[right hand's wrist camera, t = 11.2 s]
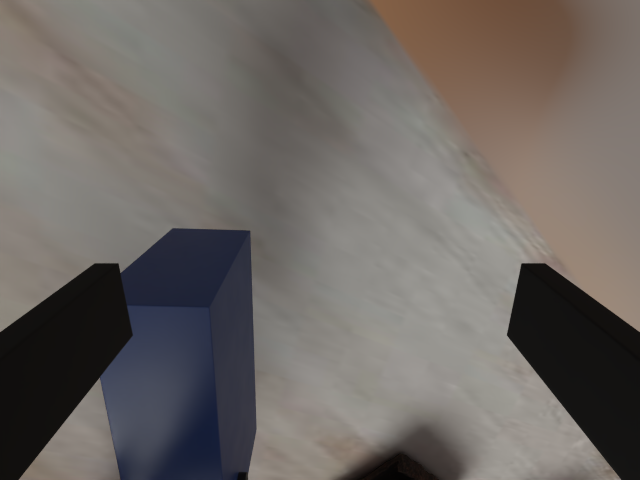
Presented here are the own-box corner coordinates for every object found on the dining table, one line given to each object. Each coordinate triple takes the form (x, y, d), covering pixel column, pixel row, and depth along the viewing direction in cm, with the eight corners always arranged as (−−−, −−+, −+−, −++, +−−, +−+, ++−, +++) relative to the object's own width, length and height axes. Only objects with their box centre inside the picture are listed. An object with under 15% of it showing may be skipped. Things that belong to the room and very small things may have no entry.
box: (172, 228, 30) (84, 303, 19) (250, 230, 30) (209, 306, 19) (193, 427, 37) (139, 570, 26) (256, 429, 37) (229, 572, 26)
